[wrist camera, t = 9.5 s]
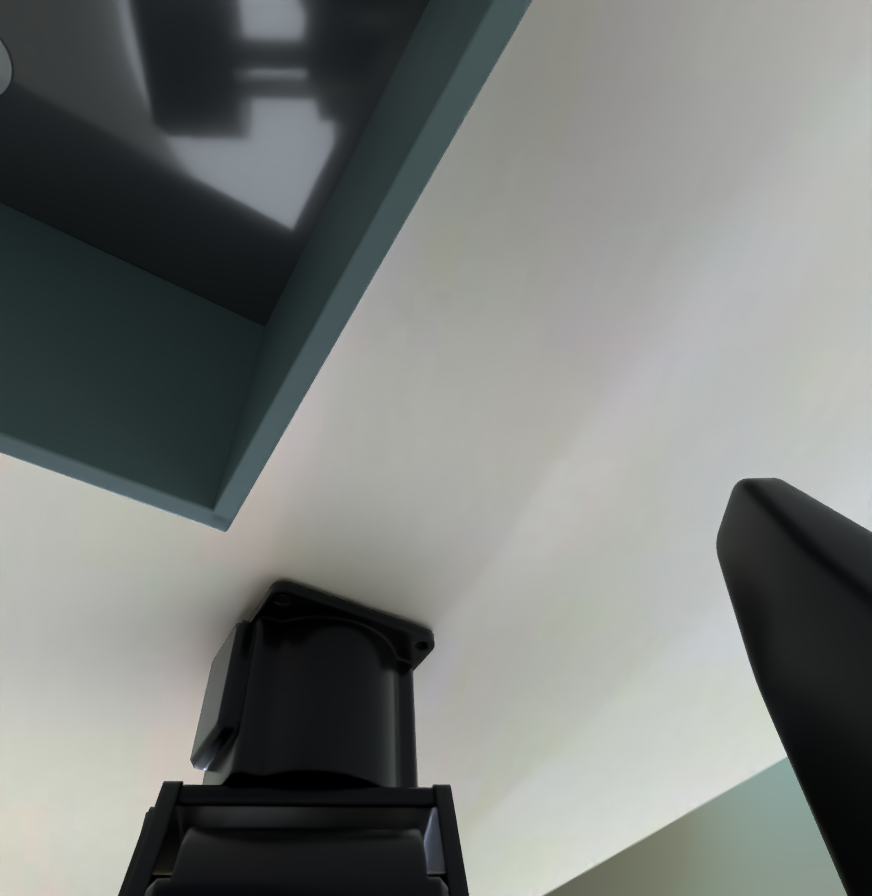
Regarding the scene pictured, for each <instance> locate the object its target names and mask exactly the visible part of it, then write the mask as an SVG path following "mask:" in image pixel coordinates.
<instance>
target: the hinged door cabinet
mask: <svg viewBox="0 0 872 896" xmlns="http://www.w3.org/2000/svg"><path fill="white" fill-rule="evenodd" d="M531 1H532V0H430V1H429V3H428V5H427V6H426V8H425V10H424V12H423V14H422V16H421V18H420V20H419V22H418V24H417V26H416V28H415V30H414V32H413V34H412V36H411V38H410V40H409V42H408V44H407V46H406V48H405V50H404V52H403V54H402V56H401V58H400V60H399V62H398V64H397V66H396V68H395V70H394V72H393V74H392V76H391V78H390V80H389V82H388V84H387V86H386V88H385V90H384V92H383V94H382V96H381V98H380V100H379V102H378V104H377V106H376V107H375V109H374V111H373V113H372V115H371V117H370V119H369V121H368V123H367V125H366V127H365V129H364V131H363V133H362V135H361V137H360V139H359V141H358V143H357V145H356V147H355V149H354V151H353V153H352V155H351V157H350V159H349V161H348V163H347V165H346V167H345V169H344V171H343V173H342V175H341V177H340V179H339V181H338V183H337V185H336V187H335V189H334V191H333V193H332V195H331V197H330V199H329V201H328V203H327V205H326V206H325V208H324V210H323V212H322V214H321V216H320V218H319V220H318V222H317V224H316V226H315V228H314V230H313V232H312V234H311V236H310V238H309V240H308V242H307V244H306V246H305V248H304V250H303V252H302V254H301V256H300V258H299V260H298V262H297V264H296V266H295V268H294V270H293V272H292V274H291V276H290V278H289V280H288V282H287V284H286V286H285V288H284V290H283V292H282V294H281V296H280V298H279V300H278V302H277V304H276V305H275V307H274V309H273V311H272V313H271V315H270V317H269V319H268V321H267V323H266V325H265V327H264V326H262V325H260V324H257V323H255V322H253V321H251V320H249V319H247V318H245V317H242V316H240V315H238V314H236V313H234V312H232V311H230V310H228V309H225V308H223V307H221V306H219V305H217V304H215V303H213V302H211V301H208V300H206V299H204V298H202V297H200V296H198V295H196V294H194V293H191V292H189V291H187V290H185V289H183V288H181V287H179V286H177V285H174V284H172V283H170V282H168V281H166V280H164V279H162V278H159V277H157V276H155V275H153V274H151V273H149V272H147V271H145V270H142V269H140V268H138V267H136V266H134V265H132V264H130V263H128V262H125V261H123V260H121V259H119V258H117V257H115V256H113V255H111V254H108V253H106V252H104V251H102V250H100V249H98V248H96V247H94V246H91V245H89V244H87V243H85V242H83V241H81V240H79V239H76V238H74V237H72V236H70V235H68V234H66V233H64V232H62V231H59V230H57V229H55V228H53V227H51V226H49V225H47V224H45V223H42V222H40V221H38V220H36V219H34V218H32V217H30V216H28V215H25V214H23V213H21V212H19V211H17V210H15V209H13V208H11V207H8V206H6V205H4V204H2V203H0V453H3V454H6V455H9V456H12V457H14V458H17V459H20V460H23V461H26V462H29V463H31V464H34V465H37V466H40V467H43V468H46V469H48V470H51V471H54V472H57V473H60V474H62V475H65V476H68V477H71V478H74V479H77V480H79V481H82V482H85V483H88V484H91V485H93V486H96V487H99V488H102V489H105V490H108V491H110V492H113V493H116V494H119V495H122V496H124V497H127V498H130V499H133V500H136V501H139V502H141V503H144V504H147V505H150V506H153V507H155V508H158V509H161V510H164V511H167V512H170V513H172V514H175V515H178V516H181V517H184V518H186V519H189V520H192V521H195V522H198V523H201V524H203V525H206V526H209V527H212V528H215V529H217V530H220V531H223V532H226V531H227V530H228V529H229V527H230V525H231V524H232V522H233V520H234V518H235V517H236V515H237V513H238V511H239V510H240V508H241V506H242V504H243V503H244V501H245V499H246V497H247V496H248V494H249V492H250V490H251V489H252V487H253V485H254V484H255V482H256V480H257V478H258V477H259V475H260V473H261V471H262V470H263V468H264V466H265V464H266V463H267V461H268V459H269V457H270V456H271V454H272V452H273V450H274V449H275V447H276V445H277V444H278V442H279V440H280V438H281V437H282V435H283V433H284V431H285V430H286V428H287V426H288V424H289V423H290V421H291V419H292V417H293V416H294V414H295V412H296V410H297V409H298V407H299V405H300V403H301V402H302V400H303V398H304V397H305V395H306V393H307V391H308V390H309V388H310V386H311V384H312V383H313V381H314V379H315V377H316V376H317V374H318V372H319V370H320V369H321V367H322V365H323V363H324V362H325V360H326V358H327V356H328V355H329V353H330V351H331V350H332V348H333V346H334V344H335V343H336V341H337V339H338V337H339V336H340V334H341V332H342V330H343V329H344V327H345V325H346V323H347V322H348V320H349V318H350V316H351V315H352V313H353V311H354V310H355V308H356V306H357V304H358V303H359V301H360V299H361V297H362V296H363V294H364V292H365V290H366V289H367V287H368V285H369V283H370V282H371V280H372V278H373V276H374V275H375V273H376V271H377V269H378V268H379V266H380V264H381V263H382V261H383V259H384V257H385V256H386V254H387V252H388V250H389V249H390V247H391V245H392V243H393V242H394V240H395V238H396V236H397V235H398V233H399V231H400V229H401V228H402V226H403V224H404V223H405V221H406V219H407V217H408V216H409V214H410V212H411V210H412V209H413V207H414V205H415V203H416V202H417V200H418V198H419V196H420V195H421V193H422V191H423V189H424V188H425V186H426V184H427V182H428V181H429V179H430V177H431V176H432V174H433V172H434V170H435V169H436V167H437V165H438V163H439V162H440V160H441V158H442V156H443V155H444V153H445V151H446V149H447V148H448V146H449V144H450V142H451V141H452V139H453V137H454V135H455V134H456V132H457V130H458V129H459V127H460V125H461V123H462V122H463V120H464V118H465V116H466V115H467V113H468V111H469V109H470V108H471V106H472V104H473V102H474V101H475V99H476V97H477V95H478V94H479V92H480V90H481V89H482V87H483V85H484V83H485V82H486V80H487V78H488V76H489V75H490V73H491V71H492V69H493V68H494V66H495V64H496V62H497V61H498V59H499V57H500V55H501V54H502V52H503V50H504V48H505V47H506V45H507V43H508V42H509V40H510V38H511V36H512V35H513V33H514V31H515V29H516V28H517V26H518V24H519V22H520V21H521V19H522V17H523V15H524V14H525V12H526V10H527V8H528V7H529V5H530V3H531Z"/></svg>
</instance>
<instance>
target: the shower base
mask: <svg viewBox="0 0 872 896" xmlns="http://www.w3.org/2000/svg"><path fill="white" fill-rule="evenodd" d="M429 1H430V0H0V203H2V204H4V205H6V206H8V207H11V208H13V209H15V210H17V211H19V212H21V213H23V214H25V215H28V216H30V217H32V218H34V219H36V220H38V221H40V222H42V223H45V224H47V225H49V226H51V227H53V228H55V229H57V230H59V231H62V232H64V233H66V234H68V235H70V236H72V237H74V238H76V239H79V240H81V241H83V242H85V243H87V244H89V245H91V246H94V247H96V248H98V249H100V250H102V251H104V252H106V253H108V254H111V255H113V256H115V257H117V258H119V259H121V260H123V261H125V262H128V263H130V264H132V265H134V266H136V267H138V268H140V269H142V270H145V271H147V272H149V273H151V274H153V275H155V276H157V277H159V278H162V279H164V280H166V281H168V282H170V283H172V284H174V285H177V286H179V287H181V288H183V289H185V290H187V291H189V292H191V293H194V294H196V295H198V296H200V297H202V298H204V299H206V300H208V301H211V302H213V303H215V304H217V305H219V306H221V307H223V308H225V309H228V310H230V311H232V312H234V313H236V314H238V315H240V316H242V317H245V318H247V319H249V320H251V321H253V322H255V323H257V324H260V325H262V326H264V327H265V325H266V323H267V321H268V319H269V317H270V315H271V313H272V311H273V309H274V307H275V305H276V304H277V302H278V300H279V298H280V296H281V294H282V292H283V290H284V288H285V286H286V284H287V282H288V280H289V278H290V276H291V274H292V272H293V270H294V268H295V266H296V264H297V262H298V260H299V258H300V256H301V254H302V252H303V250H304V248H305V246H306V244H307V242H308V240H309V238H310V236H311V234H312V232H313V230H314V228H315V226H316V224H317V222H318V220H319V218H320V216H321V214H322V212H323V210H324V208H325V206H326V205H327V203H328V201H329V199H330V197H331V195H332V193H333V191H334V189H335V187H336V185H337V183H338V181H339V179H340V177H341V175H342V173H343V171H344V169H345V167H346V165H347V163H348V161H349V159H350V157H351V155H352V153H353V151H354V149H355V147H356V145H357V143H358V141H359V139H360V137H361V135H362V133H363V131H364V129H365V127H366V125H367V123H368V121H369V119H370V117H371V115H372V113H373V111H374V109H375V107H376V106H377V104H378V102H379V100H380V98H381V96H382V94H383V92H384V90H385V88H386V86H387V84H388V82H389V80H390V78H391V76H392V74H393V72H394V70H395V68H396V66H397V64H398V62H399V60H400V58H401V56H402V54H403V52H404V50H405V48H406V46H407V44H408V42H409V40H410V38H411V36H412V34H413V32H414V30H415V28H416V26H417V24H418V22H419V20H420V18H421V16H422V14H423V12H424V10H425V8H426V6H427V5H428V3H429Z"/></svg>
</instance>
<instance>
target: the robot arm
mask: <svg viewBox="0 0 872 896" xmlns="http://www.w3.org/2000/svg"><path fill="white" fill-rule="evenodd" d="M716 549H717V555H718V559H719V563H720V566H721V569H722V573H723V576H724V579H725V582H726V586H727V589H728V592H729V596H730V599H731V602H732V606H733V609H734V612H735V615H736V619H737V622H738V625H739V629H740V632H741V635H742V638H743V642H744V645H745V648H746V652H747V655H748V658H749V661H750V664H751V667H752V670H753V673H754V676H755V679H756V682H757V685H758V687H759V690H760V692H761V695H762V697H763V700H764V702H765V705H766V707H767V709H768V711H769V714H770V716H771V718H772V721H773V723H774V725H775V728H776V730H777V732H778V735H779V737H780V739H781V742H782V744H783V746H784V749H785V751H786V753H787V756H788V758H789V760H790V763H791V765H792V767H793V770H794V772H795V774H796V777H797V779H798V781H799V783H800V786H801V788H802V790H803V793H804V795H805V798H806V800H807V802H808V805H809V806H810V809H811V812H812V814H813V816H814V819H815V821H816V823H817V826H818V828H819V830H820V832H821V835H822V837H823V840H824V842H825V844H826V847H827V849H828V851H829V854H830V855H831V858H832V861H833V863H834V865H835V867H836V870H837V872H838V875H839V877H840V879H841V882H842V884H843V886H844V888H845V891H846V893H847V895H848V896H872V532H871V531H869V530H867V529H865V528H864V527H862V526H860V525H859V524H857V523H855V522H853V521H852V520H850V519H848V518H846V517H845V516H843V515H841V514H840V513H838V512H836V511H834V510H833V509H831V508H829V507H828V506H826V505H824V504H822V503H821V502H819V501H817V500H816V499H814V498H812V497H810V496H809V495H807V494H805V493H803V492H802V491H800V490H798V489H797V488H795V487H793V486H791V485H790V484H788V483H786V482H785V481H783V480H781V479H777V478H747V479H743V480H740V481H739V482H737V484H736V485H735V486H734V488H733V490H732V493H731V496H730V499H729V502H728V505H727V508H726V511H725V514H724V516H723V519H722V522H721V525H720V528H719V531H718V535H717V542H716ZM281 595H286V596H281ZM433 648H434V634H433V633H432V631H430V630H428V629H426V628H423V627H420V626H417V625H414V624H411V623H408V622H405V621H402V620H399V619H396V618H393V617H390V616H387V615H384V614H382V613H379V612H376V611H373V610H370V609H367V608H364V607H361V606H358V605H355V604H352V603H349V602H346V601H343V600H340V599H337V598H335V597H332V596H329V595H326V594H323V593H320V592H317V591H314V590H311V589H308V588H305V587H302V586H299V585H296V584H293V583H290V582H286V581H281V582H276V583H274V584H273V585H272V586H271V587H270V588H269V590H268V591H267V593H266V594H265V596H264V597H263V599H262V600H261V602H260V603H259V605H258V606H257V608H256V609H255V611H254V612H253V614H252V615H251V617H250V618H249V620H248V621H246V620H243V621H241V622H239V623H238V624H236V626H235V627H234V629H233V630H232V632H231V634H230V635H229V637H228V638H227V640H226V641H225V643H224V644H223V646H222V647H221V649H220V650H219V652H218V654H217V655H216V657H215V658H214V660H213V662H212V666H211V670H210V674H209V679H208V683H207V688H206V692H205V696H204V701H203V705H202V710H201V714H200V718H199V723H198V727H197V732H196V736H195V741H194V745H193V749H192V754H191V758H190V760H191V762H192V765H193V767H194V768H195V769H200V770H204V771H205V774H204V779H203V784H202V785H183V781H164V782H163V785H162V787H161V790H160V793H159V796H158V799H157V802H156V804H155V807H150V809H149V812H147V813H146V815H145V819H144V823H143V826H142V830H141V834H140V836H139V839H138V842H137V845H136V848H135V850H134V853H133V856H132V859H131V861H130V864H129V867H128V870H127V873H126V875H125V878H124V881H123V884H122V886H121V889H120V892H119V894H118V896H469V893H468V887H467V881H466V875H465V869H464V863H463V857H462V851H461V845H460V839H459V833H458V827H457V821H456V815H455V809H454V803H453V797H452V791H451V786H450V785H433V786H432V788H424V787H418V783H417V758H416V734H415V709H414V685H413V671H414V670H415V669H416V667H417V666H418V665H419V664H420V663H421V662H422V661H423V660H424V659H425V658H426V656H427V655H428V654H429V653H430V652H431V651H432V650H433Z"/></svg>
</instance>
